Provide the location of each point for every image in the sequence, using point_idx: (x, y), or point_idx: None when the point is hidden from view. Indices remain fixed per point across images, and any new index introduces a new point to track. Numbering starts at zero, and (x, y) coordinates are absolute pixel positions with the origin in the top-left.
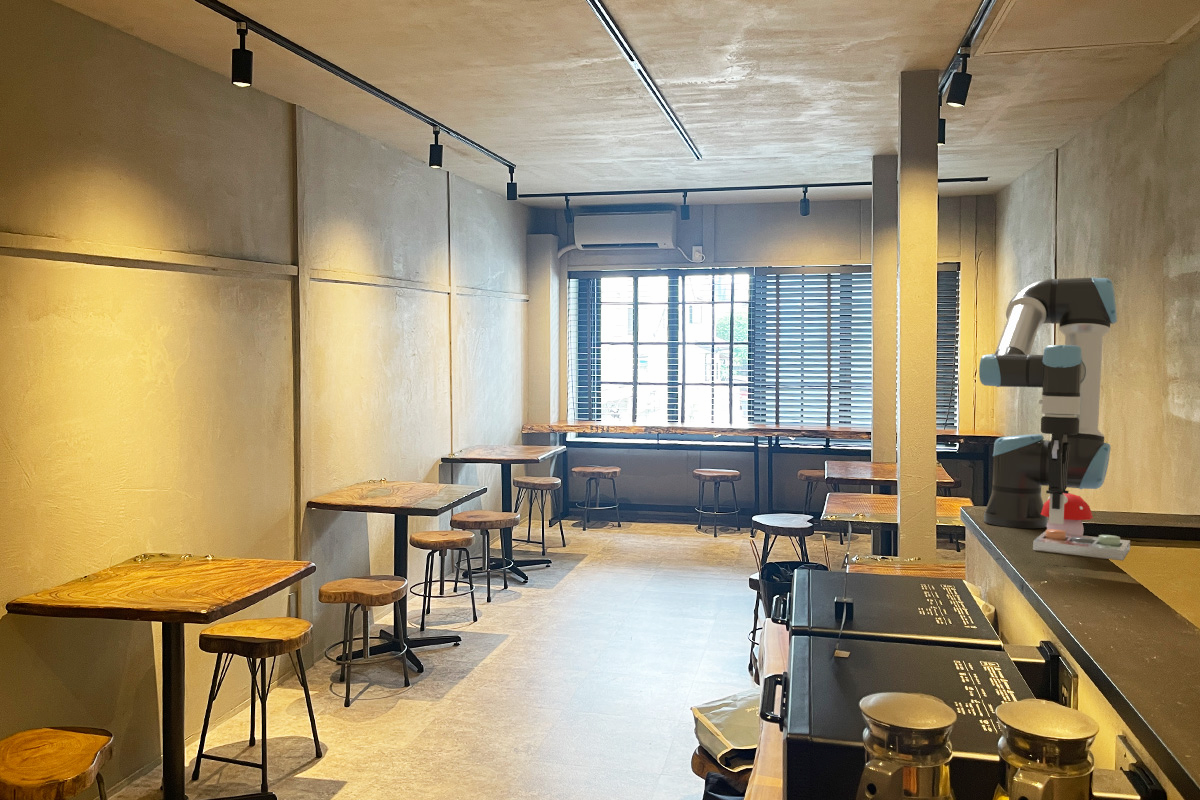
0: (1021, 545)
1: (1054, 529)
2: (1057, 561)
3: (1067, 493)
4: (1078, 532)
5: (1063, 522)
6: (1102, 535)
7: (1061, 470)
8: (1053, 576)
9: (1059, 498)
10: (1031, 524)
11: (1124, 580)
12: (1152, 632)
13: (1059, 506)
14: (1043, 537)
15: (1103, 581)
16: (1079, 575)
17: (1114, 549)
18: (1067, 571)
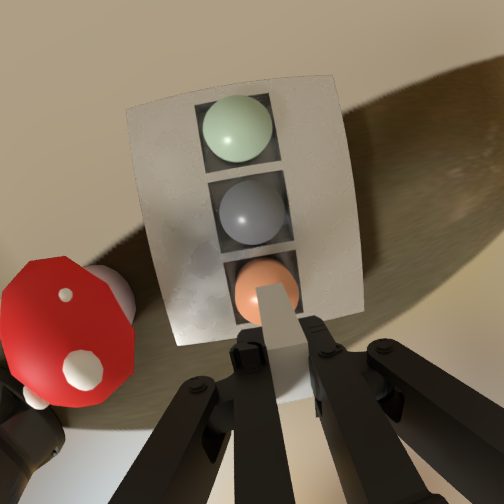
0: (214, 365)
1: (239, 310)
2: (361, 232)
3: (256, 341)
4: (95, 274)
5: (258, 288)
6: (232, 150)
7: (480, 415)
8: (486, 194)
9: (331, 340)
10: None
11: (436, 80)
12: None
13: (310, 322)
14: None
15: (467, 113)
16: (457, 156)
17: (333, 96)
18: (443, 183)
